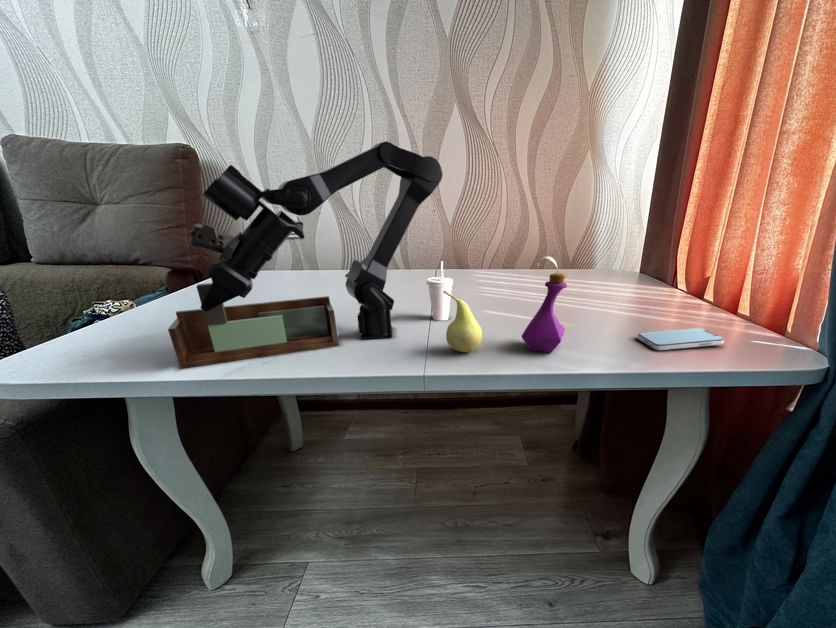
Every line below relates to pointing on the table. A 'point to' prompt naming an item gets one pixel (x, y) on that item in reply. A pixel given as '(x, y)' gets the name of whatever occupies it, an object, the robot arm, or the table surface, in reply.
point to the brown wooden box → (302, 318)
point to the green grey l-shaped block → (240, 328)
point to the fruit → (463, 329)
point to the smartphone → (680, 339)
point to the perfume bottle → (546, 318)
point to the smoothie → (440, 295)
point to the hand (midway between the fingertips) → (204, 307)
